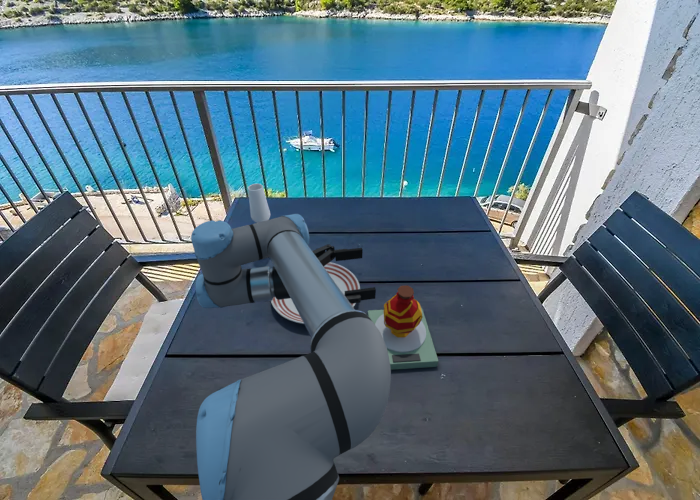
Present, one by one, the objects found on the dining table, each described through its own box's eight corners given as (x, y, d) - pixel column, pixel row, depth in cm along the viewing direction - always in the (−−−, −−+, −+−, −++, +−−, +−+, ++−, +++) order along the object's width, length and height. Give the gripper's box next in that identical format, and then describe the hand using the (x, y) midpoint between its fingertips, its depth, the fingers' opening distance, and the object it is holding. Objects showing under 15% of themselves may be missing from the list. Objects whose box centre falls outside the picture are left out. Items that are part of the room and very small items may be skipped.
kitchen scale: (437, 366, 89) (438, 359, 87) (375, 370, 88) (375, 363, 86) (420, 313, 103) (422, 306, 101) (367, 316, 102) (367, 309, 100)
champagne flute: (278, 240, 131) (269, 183, 116) (271, 251, 126) (260, 193, 111) (261, 238, 132) (250, 181, 117) (253, 249, 127) (241, 190, 112)
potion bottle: (414, 350, 89) (422, 311, 80) (376, 338, 92) (379, 299, 83) (423, 320, 97) (431, 282, 88) (387, 310, 100) (391, 272, 91)
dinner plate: (265, 276, 115) (264, 269, 113) (344, 260, 122) (344, 252, 120) (279, 342, 95) (277, 334, 93) (372, 318, 102) (373, 310, 100)
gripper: (275, 259, 88) (357, 250, 91) (276, 340, 69) (380, 325, 72) (270, 235, 83) (357, 227, 86) (271, 315, 64) (382, 300, 67)
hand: (368, 271), depth 79 cm, fingers open, 13 cm apart
